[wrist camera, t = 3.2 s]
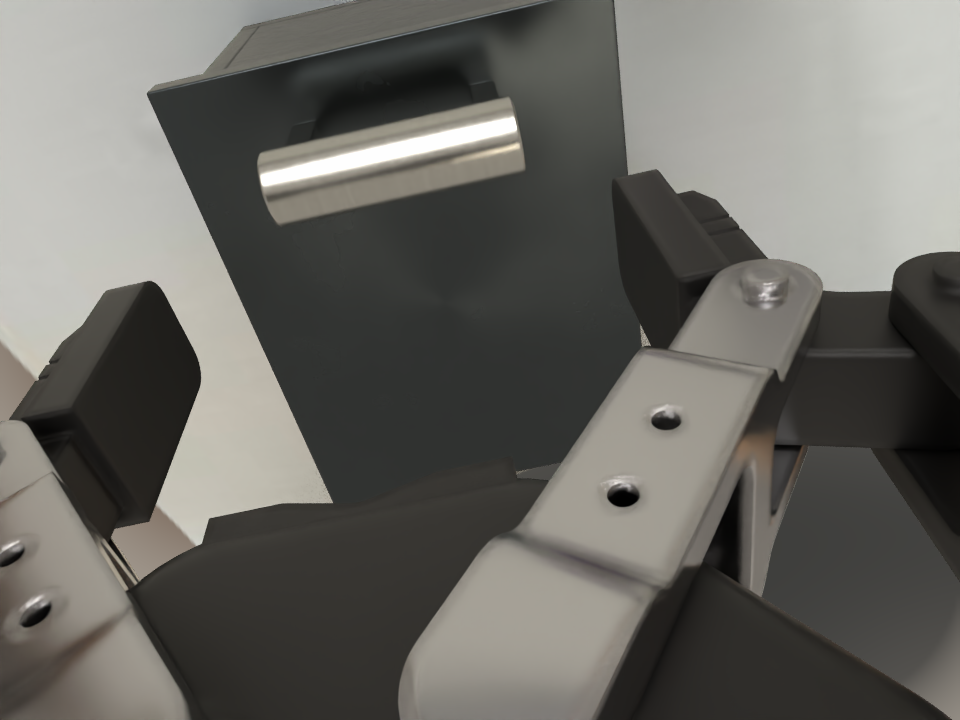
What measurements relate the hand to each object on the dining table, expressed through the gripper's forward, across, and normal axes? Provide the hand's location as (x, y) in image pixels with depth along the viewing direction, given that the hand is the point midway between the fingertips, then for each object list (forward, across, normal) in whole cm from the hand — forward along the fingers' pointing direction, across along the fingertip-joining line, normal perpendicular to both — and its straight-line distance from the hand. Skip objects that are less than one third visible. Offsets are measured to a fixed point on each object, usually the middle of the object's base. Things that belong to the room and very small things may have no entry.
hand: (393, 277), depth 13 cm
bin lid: (+10, 0, +6) cm, 12 cm away
